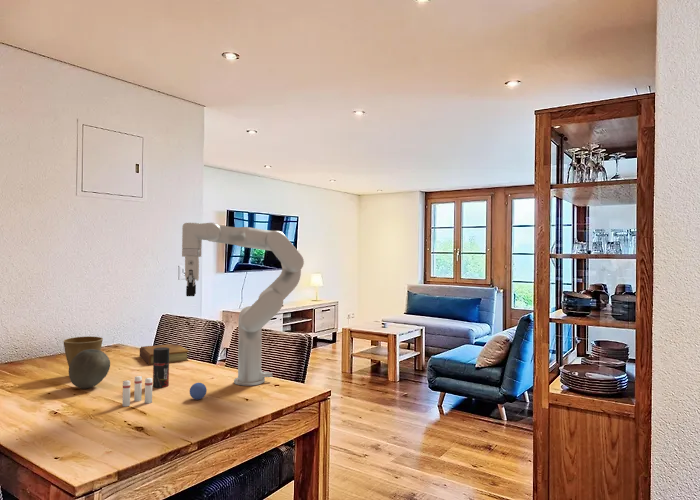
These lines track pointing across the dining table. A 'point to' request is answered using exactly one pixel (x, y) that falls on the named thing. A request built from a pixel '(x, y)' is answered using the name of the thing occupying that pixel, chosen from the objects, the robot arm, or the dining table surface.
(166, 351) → the deodorant
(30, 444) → the dining table surface
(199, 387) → the ball
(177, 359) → the diary
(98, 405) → the dining table surface
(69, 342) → the plant pot
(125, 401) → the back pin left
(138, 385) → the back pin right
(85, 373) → the grey rock
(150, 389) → the front pin
